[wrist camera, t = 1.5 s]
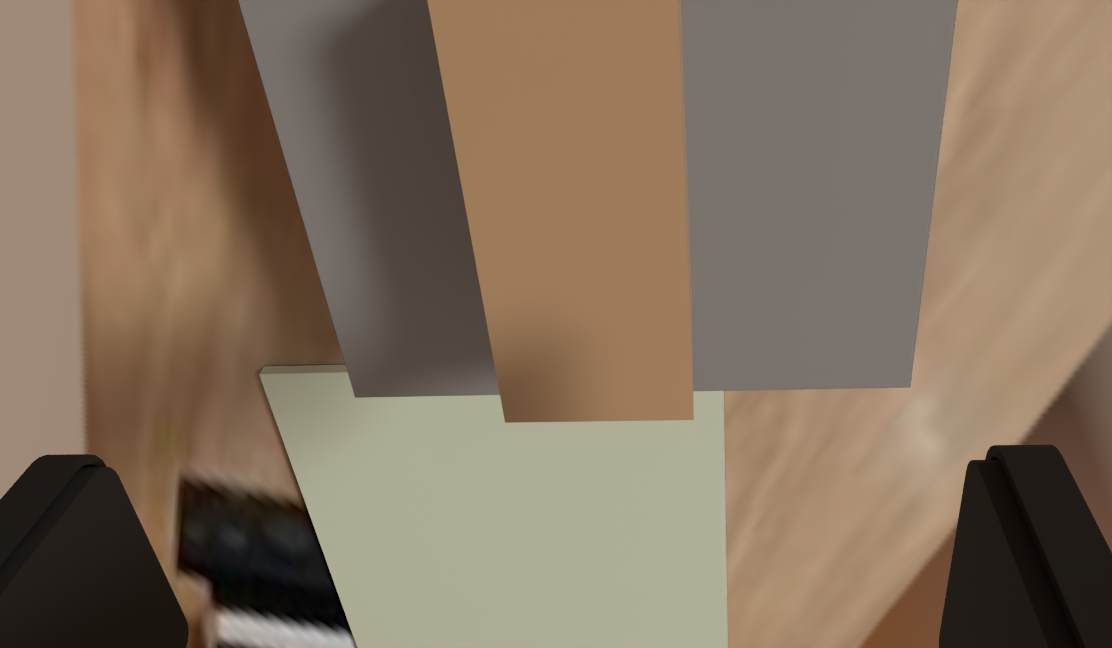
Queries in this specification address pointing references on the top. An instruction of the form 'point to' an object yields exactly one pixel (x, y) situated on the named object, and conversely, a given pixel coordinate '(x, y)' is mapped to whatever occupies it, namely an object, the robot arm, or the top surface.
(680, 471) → the mat
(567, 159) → the lid
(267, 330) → the top surface
